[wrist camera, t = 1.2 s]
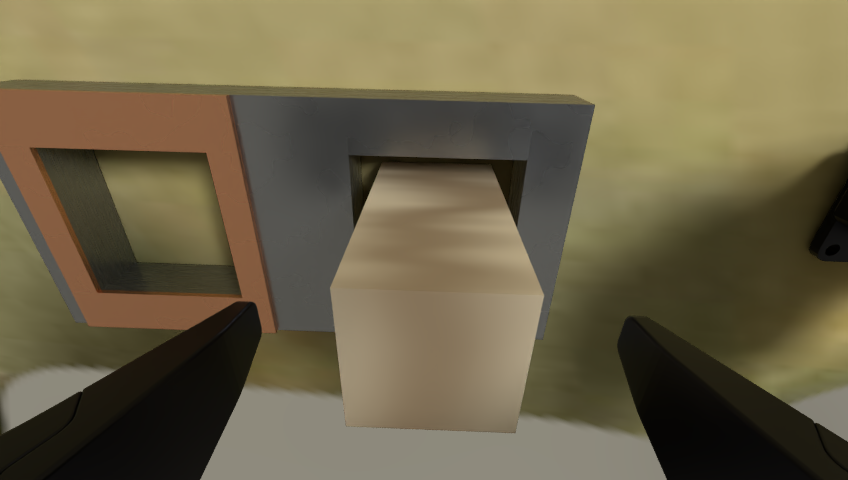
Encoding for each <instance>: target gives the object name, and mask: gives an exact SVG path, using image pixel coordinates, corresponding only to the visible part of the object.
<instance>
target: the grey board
mask: <svg viewBox="0 0 848 480" xmlns="http://www.w3.org/2000/svg"><path fill="white" fill-rule="evenodd" d="M594 107H595V105H594V104H592V103H590V102H588V101H586V100H583V99H581V98H579V97H577V96H575V95H559V94H522V93H485V92H449V91H412V90H375V89H339V88H302V87H265V86H228V85H192V84H155V83H118V82H82V81H45V80H10V81H1V82H0V179H1V181H2V182H3V184H4V186H5V188H6V190H7V192H8V194H9V196H10V198H11V200H12V202H13V203H14V205H15V207H16V209H17V211H18V213H19V215H20V217H21V219H22V221H23V223H24V224H25V226H26V228H27V230H28V232H29V234H30V236H31V238H32V240H33V242H34V243H35V245H36V247H37V249H38V251H39V253H40V255H41V257H42V259H43V261H44V263H45V264H46V266H47V268H48V270H49V272H50V274H51V276H52V278H53V280H54V282H55V284H56V285H57V287H58V289H59V291H60V293H61V295H62V297H63V299H64V301H65V303H66V304H67V306H68V308H69V310H70V312H71V314H72V316H73V318H74V320H75V322H80V323H87V324H88V326H95V327H122V328H149V329H176V330H188V329H189V328H191V327H193V326H195V325H196V324H198V323H200V322H201V321H203V320H205V319H207V318H208V317H210V316H212V315H214V314H215V313H217V312H219V311H221V310H222V309H224V308H226V307H228V306H229V305H231V304H233V303H235V302H237V301H252V302H254V303H255V304H256V306H257V309H258V314H259V318H260V322H261V327H262V333H276V332H277V330H297V331H324V332H335V326H334V318H333V309H332V300H331V292H330V287H331V285H332V282H333V280H334V277H335V275H336V273H337V270H338V268H339V265H340V263H341V260H342V258H343V256H344V253H345V251H346V248H347V246H348V244H349V241H350V239H351V236H352V234H353V232H354V229H355V227H356V224H357V222H358V220H359V217H360V215H361V212H362V210H363V189H362V172H361V155H363V156H397V157H430V158H464V159H497V160H514V161H513V169H512V176H511V184H510V191H509V198H508V208H509V210H510V213H511V215H512V218H513V220H514V223H515V225H516V227H517V230H518V232H519V235H520V237H521V240H522V242H523V245H524V247H525V250H526V252H527V254H528V257H529V259H530V262H531V264H532V267H533V269H534V272H535V274H536V277H537V279H538V281H539V284H540V286H541V289H542V291H543V294H544V299H543V303H542V308H541V313H540V318H539V322H538V327H537V332H536V337H535V339H541V340H543V336H544V332H545V327H546V323H547V318H548V314H549V309H550V305H551V300H552V296H553V291H554V287H555V282H556V278H557V273H558V269H559V264H560V260H561V255H562V251H563V246H564V242H565V237H566V233H567V229H568V224H569V220H570V215H571V211H572V206H573V202H574V197H575V193H576V188H577V184H578V179H579V175H580V170H581V166H582V161H583V157H584V152H585V148H586V143H587V139H588V134H589V130H590V125H591V121H592V116H593V112H594ZM92 149H101V150H134V151H168V152H201V153H206V154H207V158H208V162H209V166H210V170H211V174H212V178H213V182H214V186H215V190H216V194H217V198H218V202H219V206H220V210H221V214H222V218H223V222H224V226H225V230H226V234H227V238H228V242H229V246H230V250H231V254H232V258H233V262H234V266H222V265H193V264H164V263H137V262H136V260H135V257H134V255H133V252H132V249H131V247H130V244H129V242H128V239H127V237H126V234H125V232H124V229H123V226H122V224H121V221H120V219H119V216H118V214H117V211H116V208H115V206H114V203H113V201H112V198H111V196H110V193H109V191H108V188H107V185H106V183H105V180H104V178H103V175H102V173H101V170H100V168H99V165H98V162H97V160H96V157H95V155H94V152H93V150H92Z"/></svg>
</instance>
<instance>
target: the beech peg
mask: <svg viewBox="0 0 848 480" xmlns="http://www.w3.org/2000/svg"><path fill="white" fill-rule="evenodd" d="M330 292H331V300H332V309H333V318H334V326H335V335H336V344H337V353H338V361H339V370H340V379H341V387H342V396H343V405H344V413H345V422H346V426H353V427H376V428H400V429H425V430H450V431H451V430H452V431H475V432H501V433H515V432H516V427H517V422H518V418H519V413H520V408H521V403H522V399H523V394H524V389H525V384H526V380H527V375H528V370H529V365H530V361H531V356H532V351H533V346H534V342H535V337H536V332H537V327H538V322H539V318H540V313H541V308H542V303H543V299H544V294H543V291H542V289H541V286H540V284H539V281H538V279H537V277H536V274H535V272H534V269H533V267H532V264H531V262H530V259H529V257H528V254H527V252H526V250H525V247H524V245H523V242H522V240H521V237H520V235H519V232H518V230H517V227H516V225H515V223H514V220H513V218H512V215H511V213H510V210H509V208H508V205H507V203H506V200H505V198H504V196H503V193H502V191H501V188H500V186H499V183H498V181H497V178H496V176H495V173H494V171H493V168H492V166H491V165H485V164H451V163H418V162H385V161H383V162H382V164H381V167H380V169H379V171H378V174H377V176H376V179H375V181H374V183H373V186H372V188H371V191H370V193H369V195H368V198H367V200H366V203H365V205H364V207H363V210H362V212H361V215H360V217H359V220H358V222H357V224H356V227H355V229H354V232H353V234H352V236H351V239H350V241H349V244H348V246H347V248H346V251H345V253H344V256H343V258H342V260H341V263H340V265H339V268H338V270H337V273H336V275H335V277H334V280H333V282H332V285H331V287H330Z"/></svg>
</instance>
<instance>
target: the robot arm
mask: <svg viewBox="0 0 848 480" xmlns="http://www.w3.org/2000/svg"><path fill="white" fill-rule="evenodd" d="M809 251H810V253H811V254H812V255H813V256H815V257H817V258H818V259H820V260H822V261H833V262H848V180H847V181H846V183H845V185H844V187H843V188H842V190H841V192H840V194H839V195H838V197H837V199H836V201H835V202H834V204H833V206H832V208H831V209H830V211H829V213H828V215H827V216H826V218H825V220H824V222H823V223H822V225H821V227H820V229H819V230H818V232H817V234H816V236H815V237H814V239H813V241H812V243H811V244H810V247H809ZM261 334H262V327H261V322H260V318H259V314H258V309H257V306H256V304H255V303H254V302H252V301H237V302H235V303H233V304H231V305H229V306H228V307H226V308H224V309H222V310H221V311H219V312H217V313H215V314H214V315H212V316H210V317H208V318H207V319H205V320H203V321H201V322H200V323H198V324H196V325H195V326H193V327H191V328H189V329H188V330H186V331H184V332H182V333H181V334H179V335H177V336H175V337H174V338H172V339H170V340H168V341H167V342H165V343H163V344H161V345H160V346H158V347H156V348H154V349H153V350H151V351H149V352H147V353H146V354H144V355H142V356H141V357H139V358H137V359H135V360H134V361H132V362H130V363H128V364H127V365H125V366H123V367H121V368H120V369H118V370H116V371H114V372H113V373H111V374H109V375H107V376H106V377H104V378H102V379H100V380H99V381H97V382H95V383H93V384H92V385H90V386H88V387H86V388H85V389H84V390H83V392H78V393H76V394H74V395H73V396H71V397H69V398H68V399H66V400H64V401H62V402H60V403H59V404H57V405H55V406H53V407H51V408H50V409H48V410H46V411H44V412H43V413H41V414H39V415H37V416H35V417H34V418H32V419H30V420H28V421H26V422H24V423H23V424H21V425H19V426H17V427H15V428H13V429H11V430H9V431H7V432H5V433H3V434H2V435H0V480H200V479H201V476H202V475H203V472H204V470H205V468H206V466H207V464H208V462H209V460H210V458H211V456H212V454H213V452H214V449H215V447H216V445H217V443H218V441H219V439H220V437H221V435H222V433H223V431H224V429H225V426H226V424H227V422H228V420H229V418H230V416H231V414H232V412H233V410H234V408H235V406H236V403H237V401H238V399H239V397H240V394H241V392H242V389H243V387H244V384H245V381H246V378H247V376H248V373H249V370H250V367H251V364H252V361H253V358H254V356H255V353H256V350H257V347H258V344H259V341H260V338H261ZM617 348H618V353H619V356H620V359H621V362H622V365H623V369H624V372H625V375H626V378H627V381H628V385H629V388H630V391H631V394H632V397H633V400H634V403H635V406H636V409H637V412H638V414H639V417H640V419H641V421H642V424H643V426H644V428H645V430H646V433H647V435H648V437H649V440H650V442H651V444H652V446H653V449H654V451H655V453H656V456H657V458H658V460H659V462H660V465H661V467H662V469H663V472H664V474H665V476H666V478H667V480H848V442H847V441H845V440H844V439H842V438H841V437H839V436H837V435H836V434H834V433H833V432H831V431H829V430H828V429H826V428H825V427H823V426H822V425H820V424H818V423H814V422H813V420H812V419H810V418H808V417H807V416H805V415H804V414H802V413H800V412H799V411H797V410H796V409H794V408H793V407H791V406H789V405H788V404H786V403H785V402H783V401H781V400H780V399H778V398H776V397H775V396H773V395H772V394H770V393H768V392H767V391H765V390H764V389H762V388H760V387H759V386H757V385H756V384H754V383H752V382H751V381H749V380H748V379H746V378H744V377H743V376H741V375H740V374H738V373H736V372H735V371H733V370H731V369H730V368H728V367H727V366H725V365H723V364H722V363H720V362H719V361H717V360H715V359H714V358H712V357H711V356H709V355H707V354H706V353H704V352H703V351H701V350H699V349H698V348H696V347H695V346H693V345H691V344H690V343H688V342H687V341H685V340H683V339H682V338H680V337H678V336H677V335H675V334H674V333H672V332H670V331H669V330H667V329H666V328H664V327H662V326H661V325H659V324H658V323H656V322H654V321H653V320H651V319H650V318H648V317H645V316H629V317H627V318H626V320H625V322H624V325H623V328H622V331H621V334H620V336H619V339H618V344H617Z"/></svg>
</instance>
